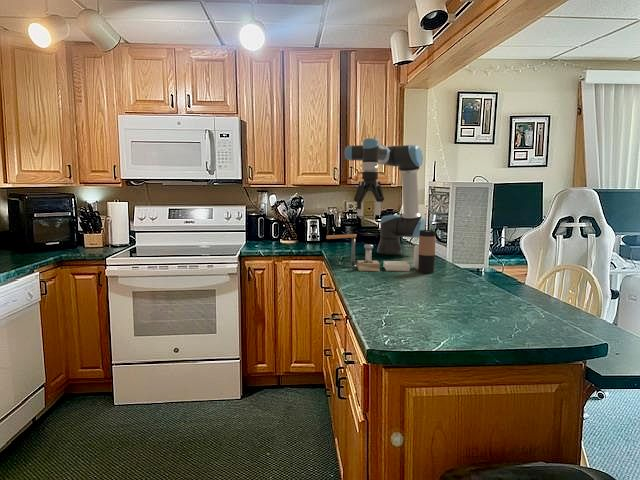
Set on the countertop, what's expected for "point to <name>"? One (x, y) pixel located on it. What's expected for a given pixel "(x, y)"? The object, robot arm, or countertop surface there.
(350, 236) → the bar
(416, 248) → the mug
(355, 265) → the keeper post
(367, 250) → the pin
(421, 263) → the travel mug
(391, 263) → the tray
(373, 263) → the block
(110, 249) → the countertop surface
